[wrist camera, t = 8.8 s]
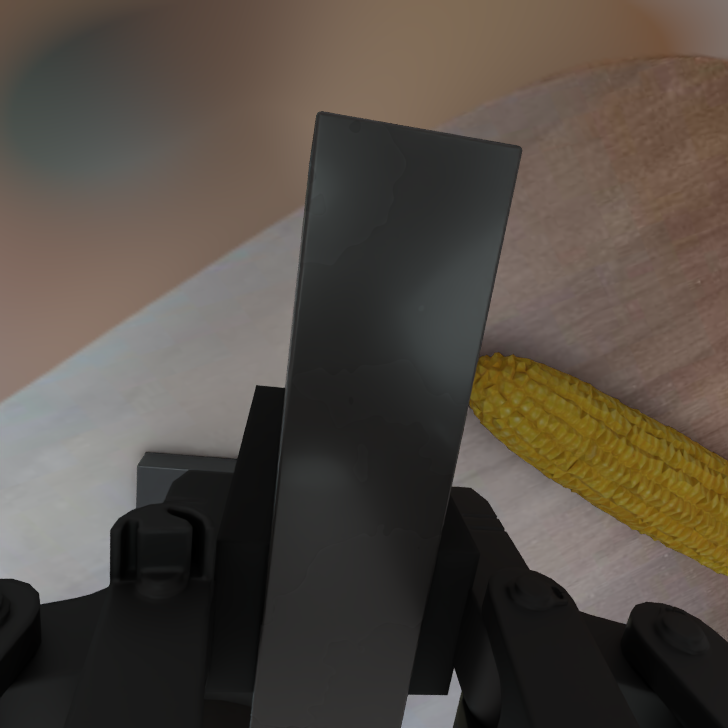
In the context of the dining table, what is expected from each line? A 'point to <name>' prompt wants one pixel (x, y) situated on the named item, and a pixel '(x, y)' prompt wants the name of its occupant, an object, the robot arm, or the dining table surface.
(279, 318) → the dining table surface
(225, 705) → the casserole
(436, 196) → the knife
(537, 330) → the dining table surface
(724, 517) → the food
